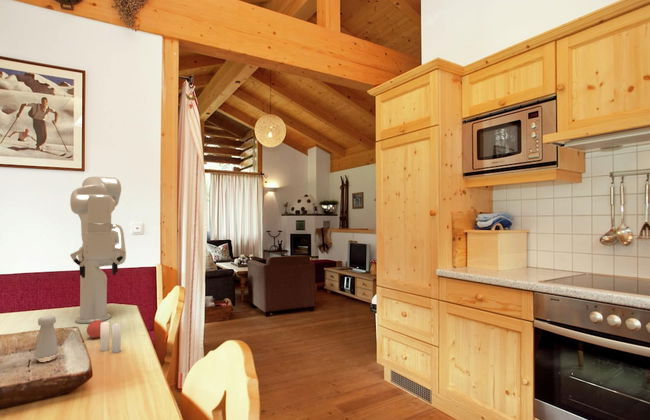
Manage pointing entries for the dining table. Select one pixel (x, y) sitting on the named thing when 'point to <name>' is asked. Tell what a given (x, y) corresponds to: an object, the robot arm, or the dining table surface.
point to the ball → (94, 329)
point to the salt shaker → (46, 338)
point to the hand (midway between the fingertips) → (98, 275)
